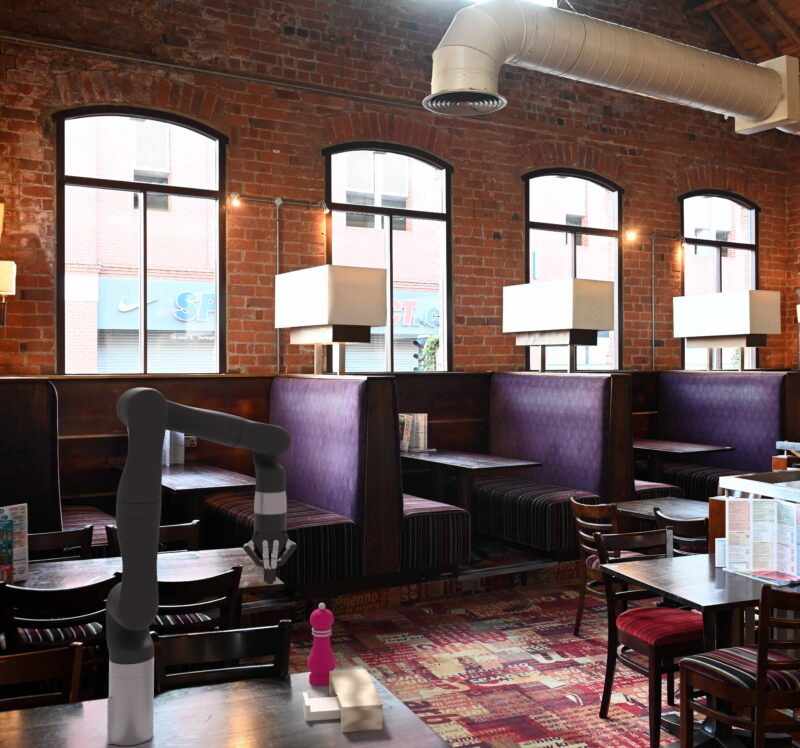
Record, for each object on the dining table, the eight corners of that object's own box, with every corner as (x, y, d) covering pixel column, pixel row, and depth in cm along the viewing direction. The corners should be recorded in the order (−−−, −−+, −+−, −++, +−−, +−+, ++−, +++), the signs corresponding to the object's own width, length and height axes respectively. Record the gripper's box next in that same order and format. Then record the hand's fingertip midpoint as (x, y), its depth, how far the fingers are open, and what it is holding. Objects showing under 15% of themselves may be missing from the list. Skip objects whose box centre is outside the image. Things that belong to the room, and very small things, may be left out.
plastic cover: (305, 721, 198) (305, 705, 198) (302, 707, 206) (302, 692, 206) (371, 716, 201) (371, 701, 201) (365, 703, 209) (365, 688, 209)
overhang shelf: (342, 732, 192) (342, 707, 192) (329, 693, 215) (329, 671, 215) (382, 729, 194) (382, 704, 194) (365, 691, 216) (365, 668, 216)
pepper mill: (341, 681, 223) (342, 603, 223) (320, 688, 218) (320, 608, 217) (322, 674, 228) (323, 597, 228) (301, 681, 223) (301, 603, 222)
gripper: (242, 513, 201) (241, 588, 201) (300, 512, 203) (299, 586, 204) (241, 508, 208) (240, 580, 208) (297, 507, 211) (296, 578, 211)
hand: (269, 583), depth 206 cm, fingers closed
